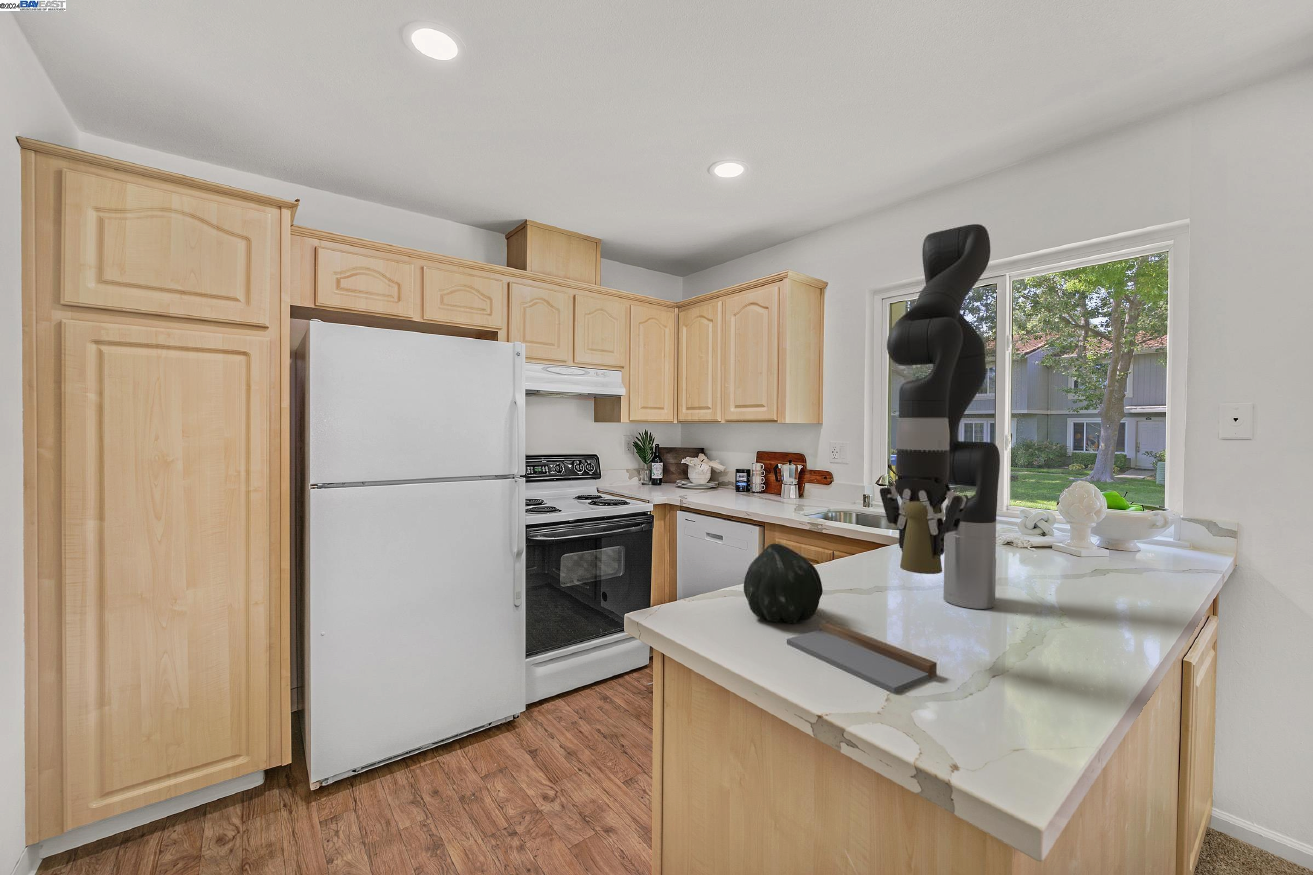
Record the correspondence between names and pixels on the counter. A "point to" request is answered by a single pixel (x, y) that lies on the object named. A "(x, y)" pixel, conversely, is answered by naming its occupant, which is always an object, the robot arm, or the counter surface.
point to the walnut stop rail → (881, 648)
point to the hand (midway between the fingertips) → (920, 554)
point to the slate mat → (859, 661)
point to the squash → (782, 585)
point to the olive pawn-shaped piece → (918, 541)
